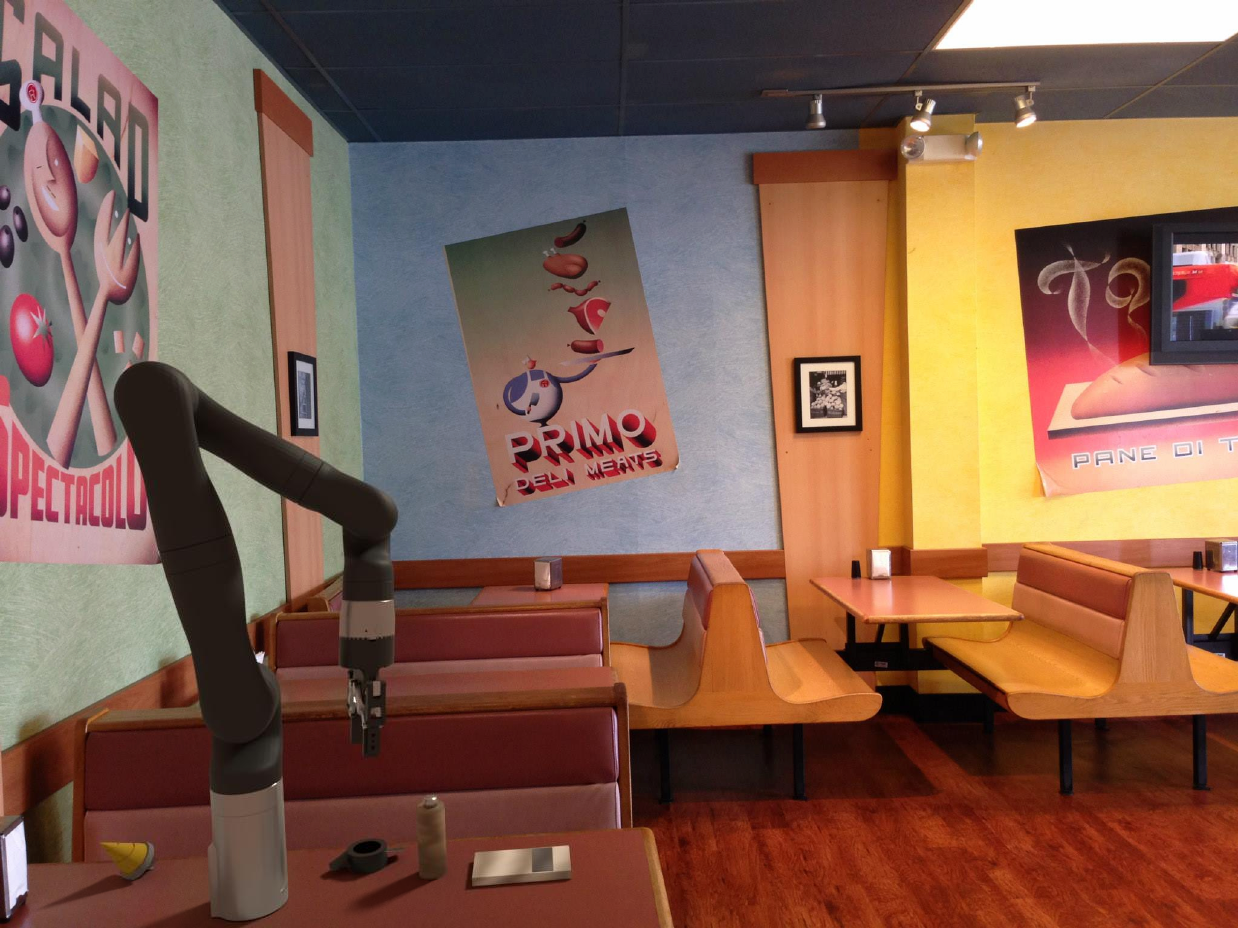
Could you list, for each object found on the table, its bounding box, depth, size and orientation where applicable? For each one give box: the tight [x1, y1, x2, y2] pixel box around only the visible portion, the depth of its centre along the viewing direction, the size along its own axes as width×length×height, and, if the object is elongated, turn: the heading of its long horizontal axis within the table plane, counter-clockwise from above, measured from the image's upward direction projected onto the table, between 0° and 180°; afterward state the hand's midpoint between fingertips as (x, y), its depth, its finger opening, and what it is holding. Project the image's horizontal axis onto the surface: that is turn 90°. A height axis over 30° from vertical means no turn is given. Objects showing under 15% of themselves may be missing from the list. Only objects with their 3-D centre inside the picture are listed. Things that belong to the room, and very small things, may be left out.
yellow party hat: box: [100, 840, 159, 881], centre depth 134 cm, size 5×5×10 cm
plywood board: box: [471, 845, 572, 887], centre depth 134 cm, size 14×8×1 cm, turn 96°
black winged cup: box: [328, 837, 406, 875], centre depth 137 cm, size 8×10×3 cm
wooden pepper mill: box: [415, 794, 448, 881], centre depth 133 cm, size 4×4×11 cm
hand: (364, 749), depth 128 cm, fingers open, 8 cm apart
